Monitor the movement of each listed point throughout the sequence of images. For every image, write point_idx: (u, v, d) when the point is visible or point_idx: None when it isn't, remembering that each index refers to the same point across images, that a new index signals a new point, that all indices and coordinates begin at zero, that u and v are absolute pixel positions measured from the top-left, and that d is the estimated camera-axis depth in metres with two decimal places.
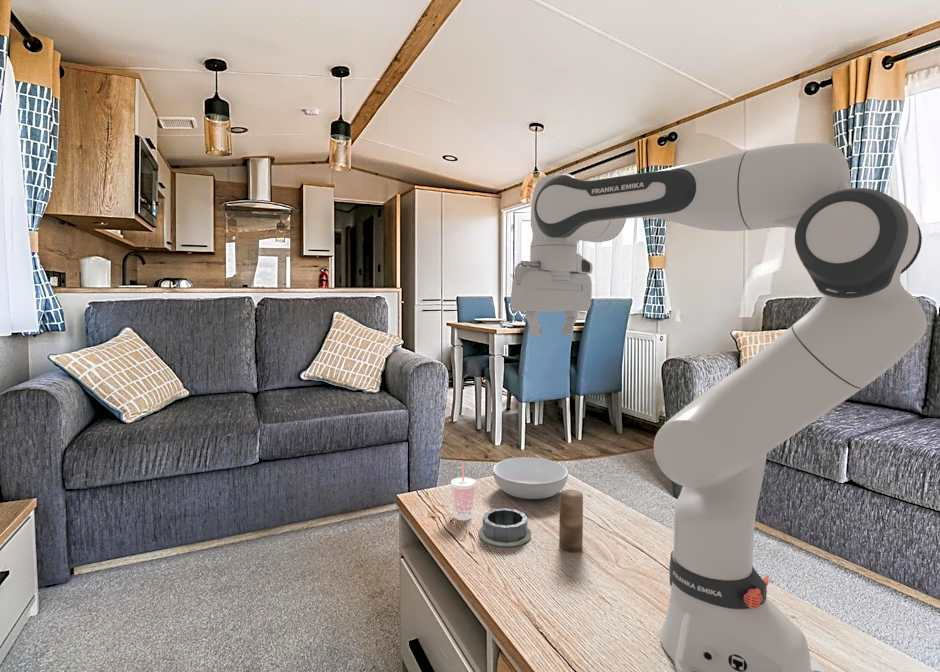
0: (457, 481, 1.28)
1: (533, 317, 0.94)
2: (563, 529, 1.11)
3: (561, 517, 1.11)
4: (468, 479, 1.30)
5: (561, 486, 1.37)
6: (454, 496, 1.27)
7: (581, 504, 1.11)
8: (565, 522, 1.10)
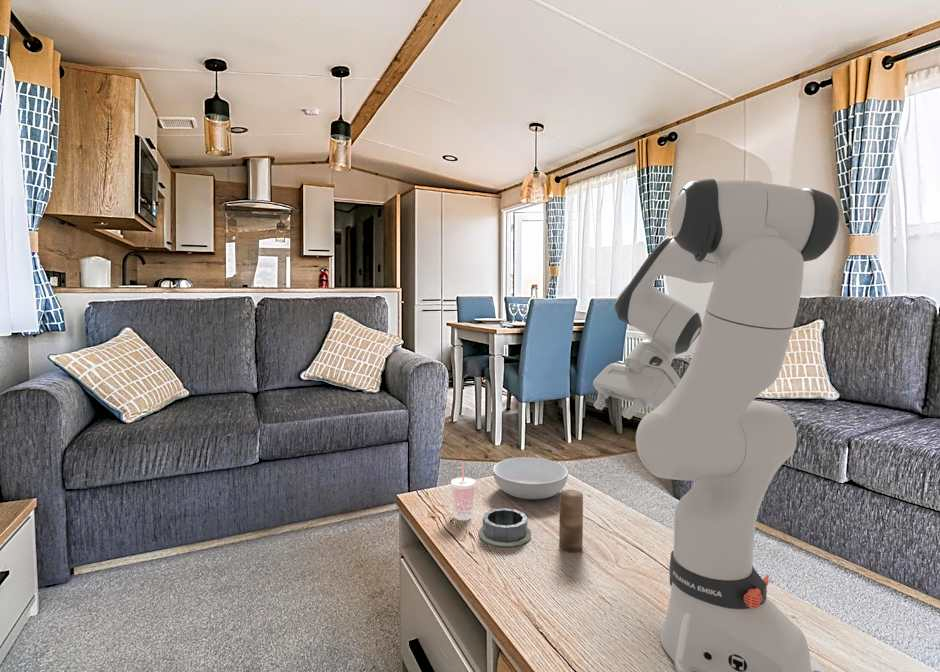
0: (457, 481, 1.28)
1: (598, 392, 1.21)
2: (563, 529, 1.11)
3: (561, 517, 1.11)
4: (468, 479, 1.30)
5: (561, 486, 1.37)
6: (454, 496, 1.27)
7: (581, 504, 1.11)
8: (565, 522, 1.10)
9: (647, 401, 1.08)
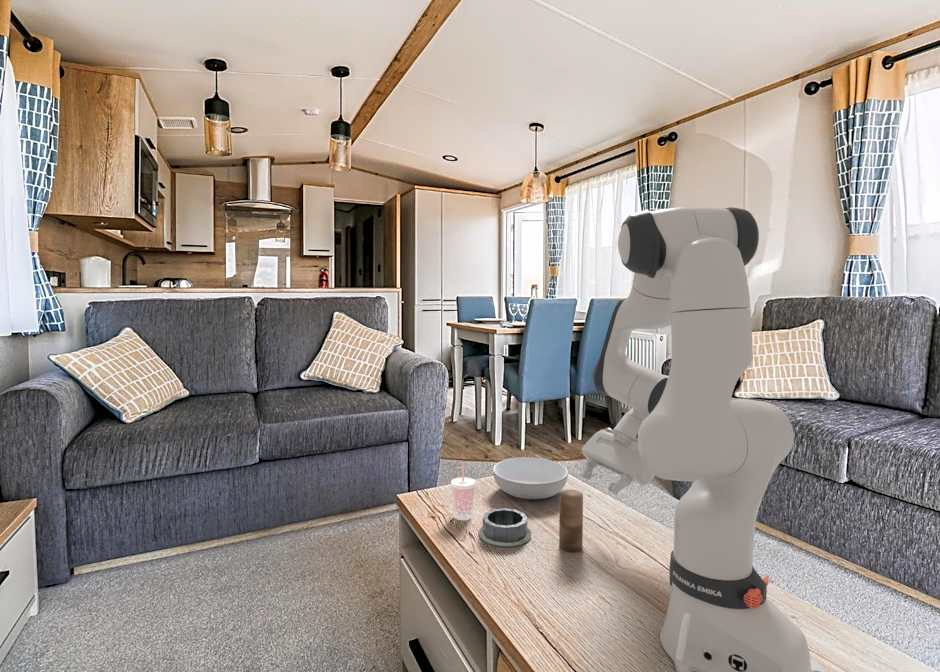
0: (457, 481, 1.28)
1: (587, 461, 1.21)
2: (563, 529, 1.11)
3: (561, 517, 1.11)
4: (468, 479, 1.30)
5: (561, 486, 1.37)
6: (454, 496, 1.27)
7: (581, 504, 1.11)
8: (565, 522, 1.10)
9: (633, 478, 1.08)
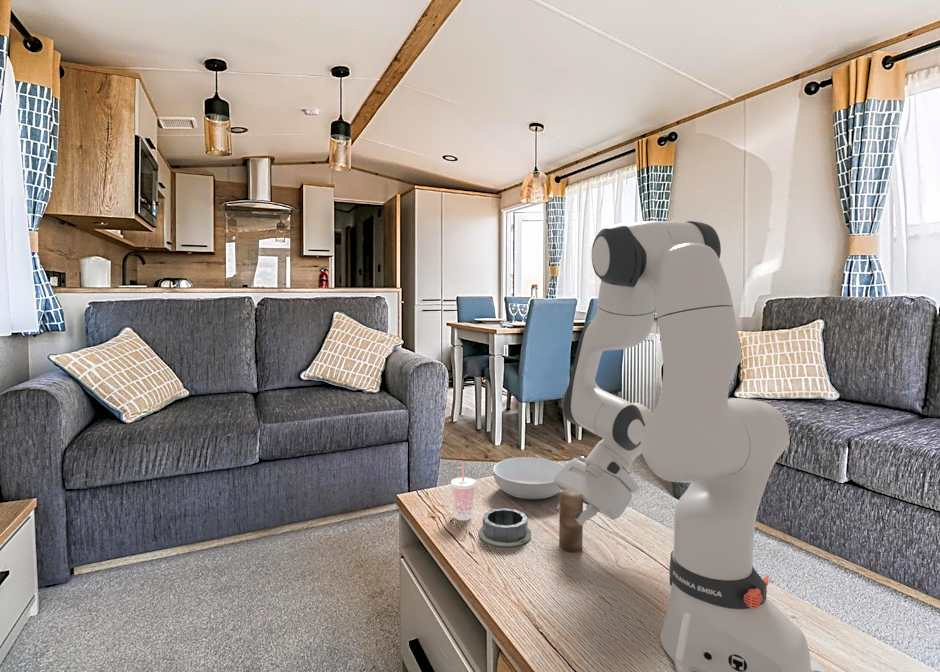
0: (457, 481, 1.28)
1: None
2: (563, 529, 1.11)
3: (561, 517, 1.11)
4: (468, 479, 1.30)
5: None
6: (454, 496, 1.27)
7: (581, 504, 1.11)
8: (565, 522, 1.10)
9: (603, 512, 1.06)
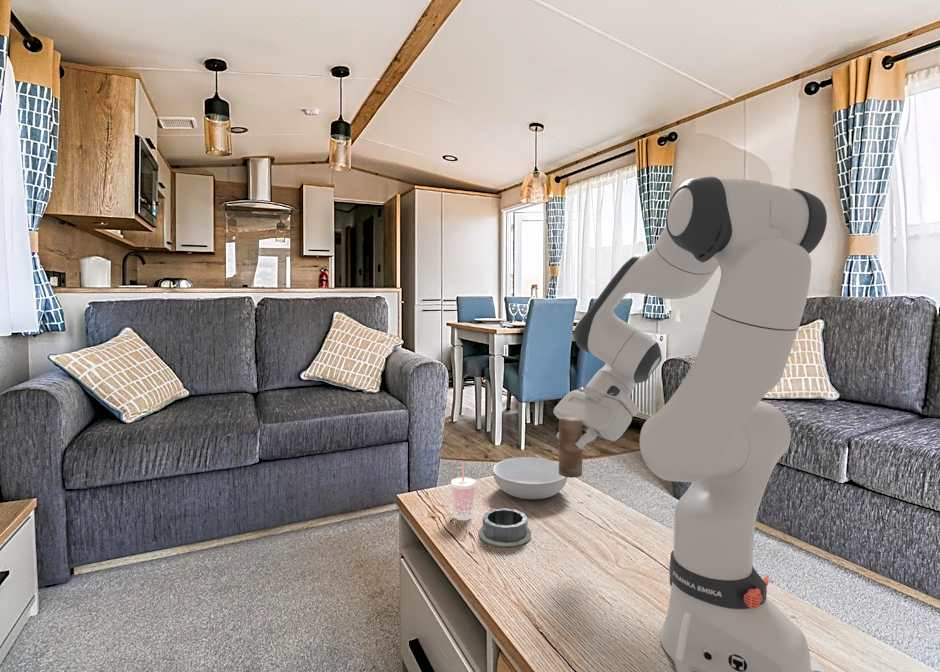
0: (457, 481, 1.28)
1: None
2: (563, 454, 1.10)
3: (560, 442, 1.10)
4: (468, 479, 1.30)
5: (561, 486, 1.37)
6: (454, 496, 1.27)
7: (581, 429, 1.09)
8: (565, 447, 1.09)
9: (603, 433, 1.04)
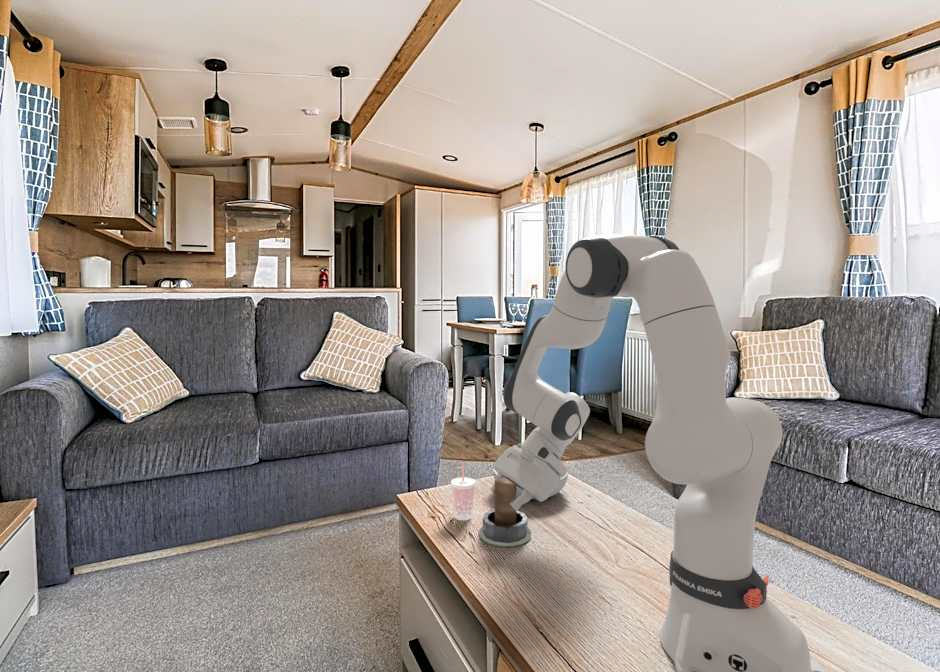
0: (457, 481, 1.28)
1: (497, 477, 1.24)
2: (497, 515, 1.17)
3: (495, 503, 1.17)
4: (468, 479, 1.30)
5: (561, 486, 1.37)
6: (454, 496, 1.27)
7: (514, 491, 1.16)
8: (499, 508, 1.16)
9: (532, 494, 1.11)
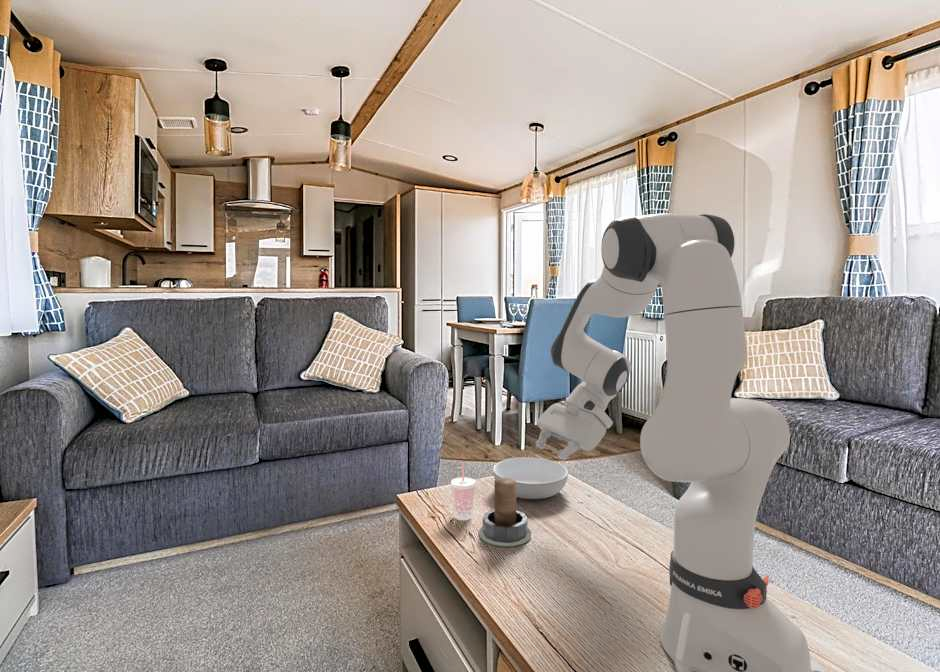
0: (457, 481, 1.28)
1: (541, 432, 1.29)
2: (497, 515, 1.17)
3: (495, 504, 1.17)
4: (468, 479, 1.30)
5: (561, 486, 1.37)
6: (454, 496, 1.27)
7: (514, 491, 1.16)
8: (499, 508, 1.16)
9: (579, 444, 1.16)
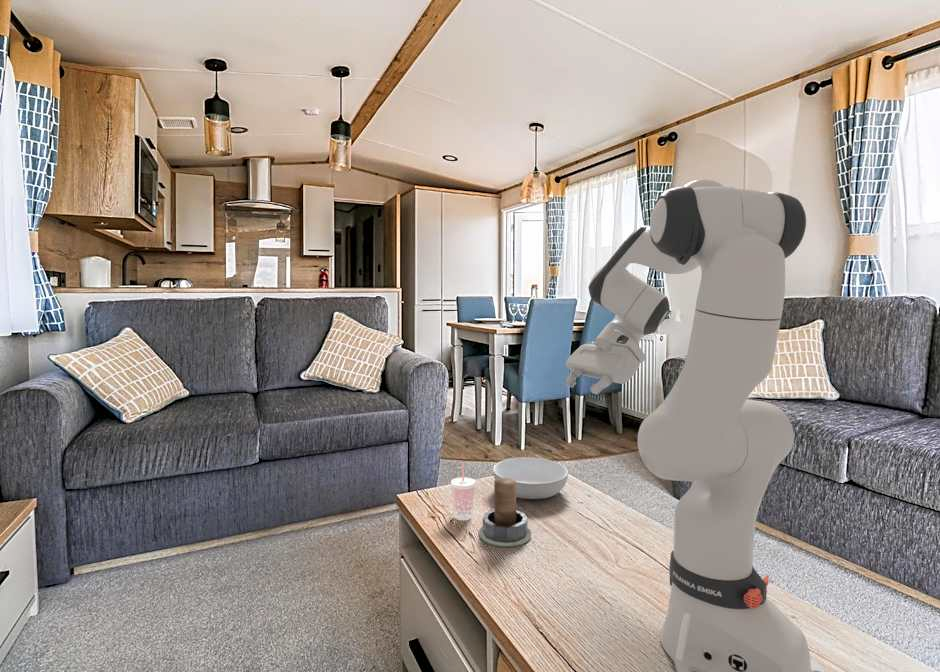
0: (457, 481, 1.28)
1: (570, 371, 1.26)
2: (497, 515, 1.17)
3: (495, 504, 1.17)
4: (468, 479, 1.30)
5: (561, 486, 1.37)
6: (454, 496, 1.27)
7: (514, 491, 1.16)
8: (499, 508, 1.16)
9: (613, 377, 1.13)
